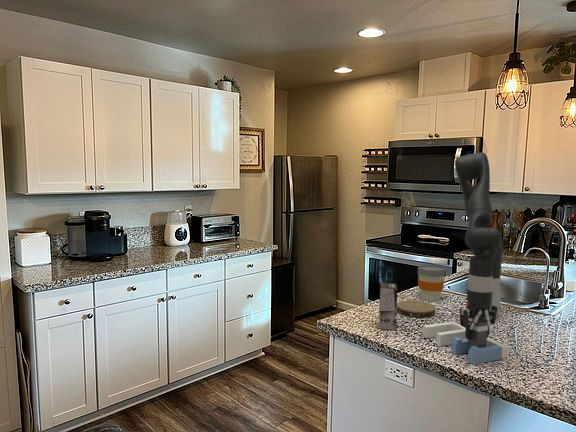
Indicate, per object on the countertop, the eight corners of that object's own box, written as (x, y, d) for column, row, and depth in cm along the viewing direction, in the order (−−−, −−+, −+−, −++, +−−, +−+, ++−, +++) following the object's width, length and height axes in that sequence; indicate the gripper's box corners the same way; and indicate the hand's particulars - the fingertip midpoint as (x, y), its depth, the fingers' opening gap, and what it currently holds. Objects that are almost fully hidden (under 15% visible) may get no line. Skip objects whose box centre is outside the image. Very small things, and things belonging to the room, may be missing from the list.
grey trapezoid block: (476, 352, 144) (478, 317, 142) (486, 357, 140) (488, 322, 138) (466, 353, 142) (469, 319, 141) (476, 359, 138) (478, 323, 137)
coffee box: (396, 330, 163) (397, 289, 161) (379, 329, 164) (380, 288, 162) (395, 322, 172) (396, 283, 170) (378, 320, 173) (380, 282, 171)
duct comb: (452, 331, 162) (453, 318, 162) (506, 358, 139) (507, 343, 139) (422, 336, 157) (423, 323, 157) (472, 364, 134) (473, 349, 134)
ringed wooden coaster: (400, 304, 195) (400, 298, 195) (436, 309, 188) (436, 303, 188) (393, 315, 181) (393, 308, 180) (432, 321, 174) (433, 314, 174)
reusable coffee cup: (440, 304, 196) (441, 272, 194) (413, 299, 202) (414, 268, 201) (446, 297, 206) (448, 267, 204) (420, 293, 213) (421, 263, 211)
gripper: (487, 283, 144) (484, 331, 146) (454, 287, 139) (451, 336, 141) (506, 289, 138) (502, 339, 139) (471, 293, 132) (468, 345, 134)
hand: (477, 337), depth 140 cm, fingers open, 6 cm apart
